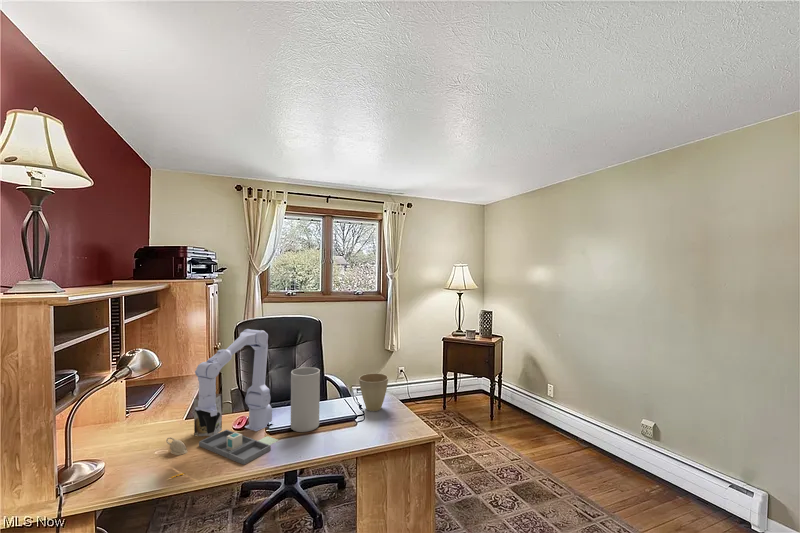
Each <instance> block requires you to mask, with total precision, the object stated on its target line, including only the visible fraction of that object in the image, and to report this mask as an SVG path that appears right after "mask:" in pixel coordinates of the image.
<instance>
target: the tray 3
mask: <svg viewBox="0 0 800 533" xmlns="http://www.w3.org/2000/svg"><path fill="white" fill-rule="evenodd" d="M271 446H272V444H271V445H268V444H265V443H263V442H260V441H258V440H257V439H254V441H252V442H250V443H248V444H246V445H244V446H242V447H240V448H238V449H236V450H234V451H232V452H230V453H228V458H227V459H229V460H231V461H234V462H236V463H239V464H241V465H244V466H245V465H246V464H248V463H250V462H252V461H253V460H255V459H257V458H259V457H261V456H263V455H265V454H267V453H268V452H270V451H271V450H272V447H271Z"/></svg>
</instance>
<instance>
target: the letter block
mask: <svg viewBox="0 0 800 533" xmlns="http://www.w3.org/2000/svg"><path fill="white" fill-rule="evenodd" d="M234 432H235V433H233V434H231V435H228V436H227V449H228V450H233V449H235V448H238V447H240V446H242V435H243V433H239V432H238V431H237V432H236V431H234Z"/></svg>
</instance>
